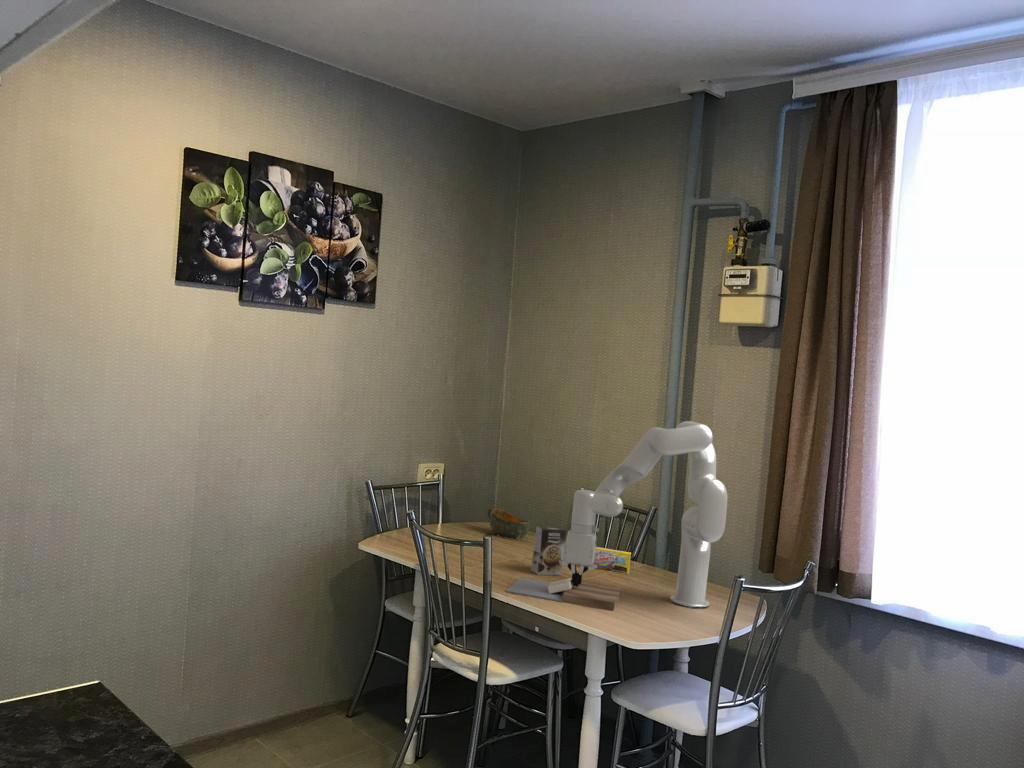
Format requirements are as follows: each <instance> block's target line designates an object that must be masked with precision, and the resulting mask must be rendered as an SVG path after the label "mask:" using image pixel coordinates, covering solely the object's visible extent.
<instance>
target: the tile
mask: <svg viewBox="0 0 1024 768" xmlns="http://www.w3.org/2000/svg"><path fill="white" fill-rule="evenodd" d="M571 581H572V577H571V578H570V577H569V578H565V579H564V578H563V579H560V580H556V581H552V582H550V583H551V584H550V586H549V587H548V590H549V594H550V593H555V592H560V591H565V590H569V589H571V588H572V587H573V583H571Z"/></svg>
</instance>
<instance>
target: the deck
mask: <svg viewBox="0 0 1024 768" xmlns="http://www.w3.org/2000/svg"><path fill="white" fill-rule="evenodd" d="M621 591H622V589H621V588H618V587H611V586H604V585H600V584H594V583H588V582H587V583H586V582H583V581H581V584H579V586H578V587H576V586H573V587H572V588H571V589H569V590H566V591H565V592H564V593H563V599H562V602H561V603H568V604H573V605H578V606H585V607H591V608H595V609H596V608H597V609H601V610H606V611H607V610H608V611H614V610H615V609H616V606H617V604H618V602H619V601H620V599H621V596H622V592H621Z"/></svg>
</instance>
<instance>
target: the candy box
mask: <svg viewBox="0 0 1024 768" xmlns="http://www.w3.org/2000/svg"><path fill="white" fill-rule="evenodd" d="M631 555H632V552H629V551H624V550H623V551H622V550H616V549H611V548H604V547H599V546H596V559H595V563H594V564H595V569H598V570H597V571H600V570H604V571H603V572H606V571H612V572H617V573H616V574H618V573H624V574H630V564H631ZM612 572H611V573H612ZM624 574H623V575H624Z"/></svg>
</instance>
